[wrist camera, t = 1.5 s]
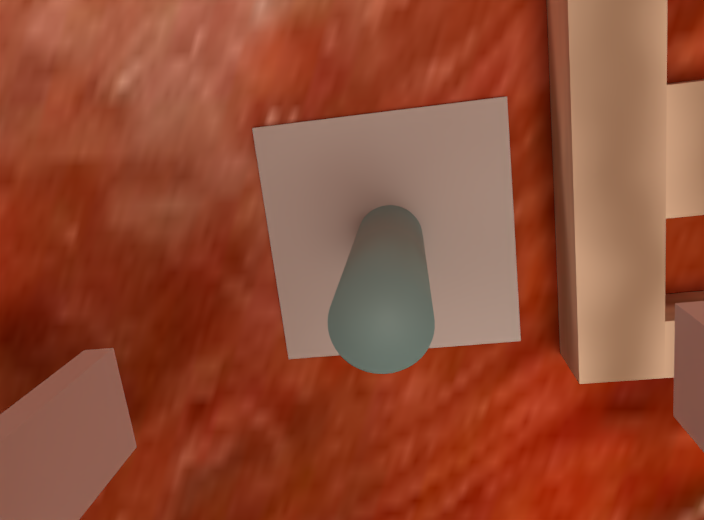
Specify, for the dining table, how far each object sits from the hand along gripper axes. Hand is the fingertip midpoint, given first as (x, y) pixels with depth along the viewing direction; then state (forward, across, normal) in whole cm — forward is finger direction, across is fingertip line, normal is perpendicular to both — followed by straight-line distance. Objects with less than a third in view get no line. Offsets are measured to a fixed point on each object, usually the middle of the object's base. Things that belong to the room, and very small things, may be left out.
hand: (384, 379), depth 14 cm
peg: (+16, 0, 0) cm, 16 cm away
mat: (+16, 0, 0) cm, 16 cm away
